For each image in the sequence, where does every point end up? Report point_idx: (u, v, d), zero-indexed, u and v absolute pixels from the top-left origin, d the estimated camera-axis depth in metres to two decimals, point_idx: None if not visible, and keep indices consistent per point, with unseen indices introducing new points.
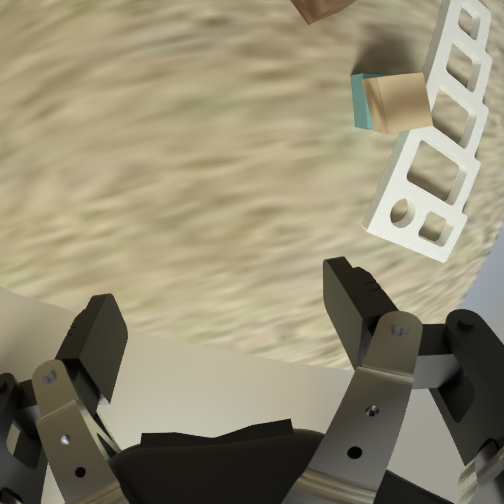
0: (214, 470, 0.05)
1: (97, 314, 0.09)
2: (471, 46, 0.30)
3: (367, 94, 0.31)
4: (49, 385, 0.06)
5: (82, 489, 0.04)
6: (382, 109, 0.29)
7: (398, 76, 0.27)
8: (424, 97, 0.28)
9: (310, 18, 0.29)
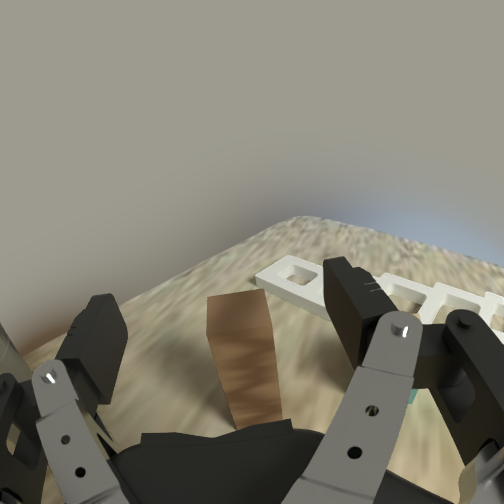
0: (214, 470, 0.05)
1: (97, 314, 0.09)
2: None
3: None
4: (49, 385, 0.06)
5: (82, 489, 0.04)
6: None
7: None
8: None
9: (278, 416, 0.29)
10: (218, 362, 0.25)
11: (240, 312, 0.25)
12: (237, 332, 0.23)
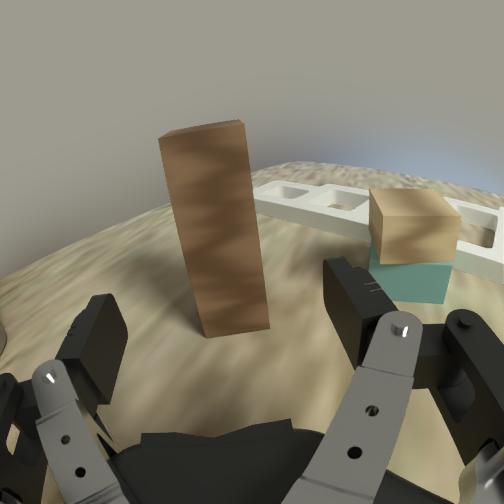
0: (214, 470, 0.05)
1: (97, 314, 0.09)
2: (317, 194, 0.44)
3: (404, 255, 0.22)
4: (49, 385, 0.06)
5: (83, 489, 0.04)
6: (428, 222, 0.20)
7: (378, 202, 0.23)
8: (402, 190, 0.25)
9: (262, 310, 0.23)
10: (172, 190, 0.18)
11: (205, 127, 0.19)
12: (198, 135, 0.17)
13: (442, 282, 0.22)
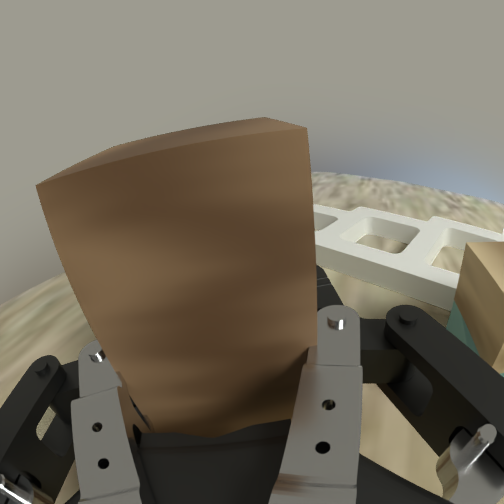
0: (214, 470, 0.05)
1: None
2: (349, 223, 0.32)
3: None
4: (100, 363, 0.07)
5: (101, 481, 0.04)
6: None
7: (495, 276, 0.12)
8: None
9: None
10: (99, 325, 0.06)
11: (183, 136, 0.07)
12: (149, 168, 0.05)
13: None
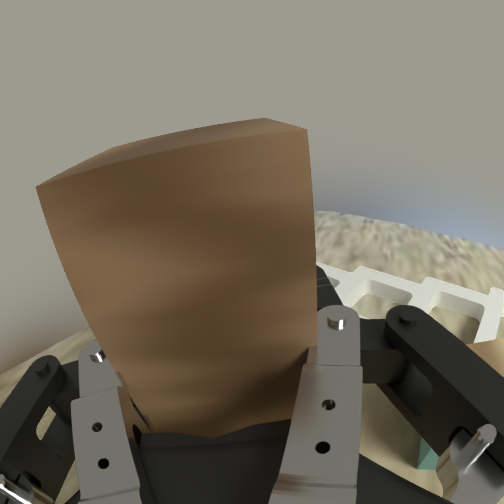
0: (214, 470, 0.05)
1: None
2: (349, 288, 0.36)
3: None
4: (100, 363, 0.07)
5: (101, 481, 0.04)
6: None
7: None
8: (477, 348, 0.17)
9: None
10: (99, 326, 0.06)
11: (183, 137, 0.07)
12: (149, 169, 0.05)
13: None
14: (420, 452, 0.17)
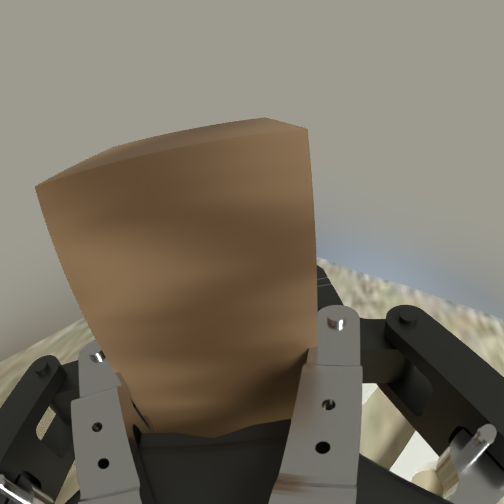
0: (214, 470, 0.05)
1: None
2: None
3: None
4: (100, 363, 0.07)
5: (101, 481, 0.04)
6: None
7: None
8: None
9: None
10: (99, 326, 0.06)
11: (182, 137, 0.07)
12: (148, 168, 0.05)
13: None
14: None
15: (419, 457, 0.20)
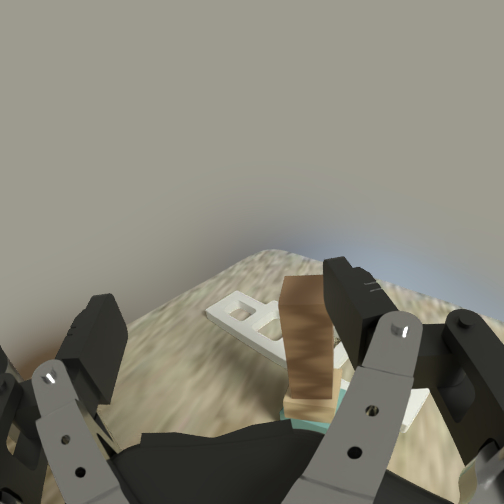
0: (214, 470, 0.05)
1: (97, 314, 0.09)
2: (260, 315, 0.60)
3: (299, 416, 0.36)
4: (49, 385, 0.06)
5: (83, 489, 0.04)
6: (312, 407, 0.34)
7: None
8: None
9: (328, 390, 0.33)
10: (284, 331, 0.30)
11: (308, 291, 0.30)
12: (302, 306, 0.28)
13: (323, 433, 0.36)
14: None
15: None
